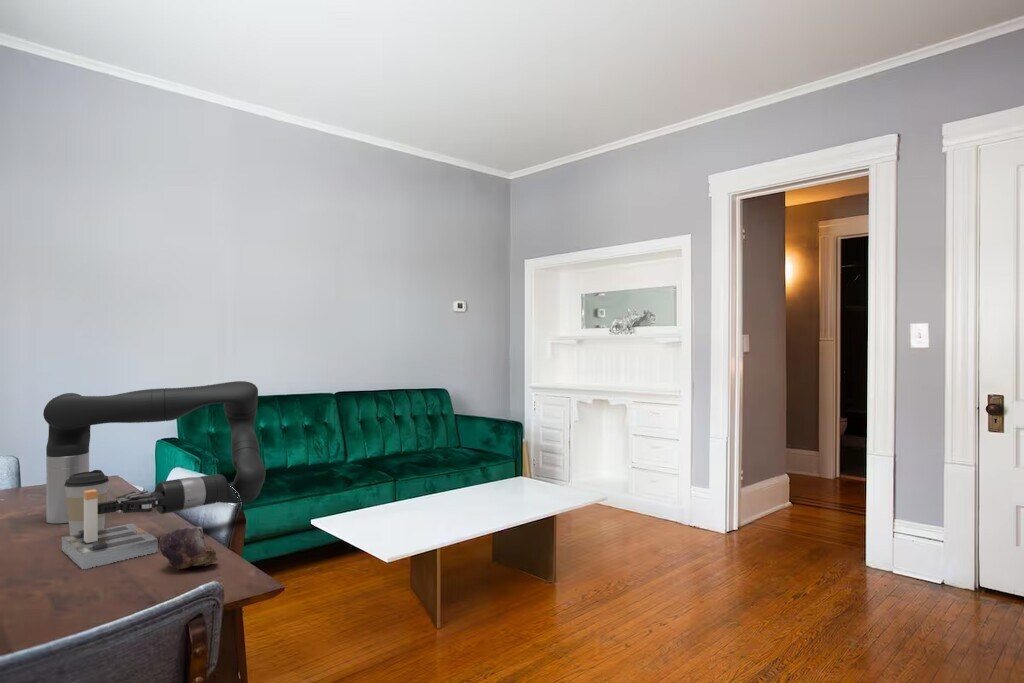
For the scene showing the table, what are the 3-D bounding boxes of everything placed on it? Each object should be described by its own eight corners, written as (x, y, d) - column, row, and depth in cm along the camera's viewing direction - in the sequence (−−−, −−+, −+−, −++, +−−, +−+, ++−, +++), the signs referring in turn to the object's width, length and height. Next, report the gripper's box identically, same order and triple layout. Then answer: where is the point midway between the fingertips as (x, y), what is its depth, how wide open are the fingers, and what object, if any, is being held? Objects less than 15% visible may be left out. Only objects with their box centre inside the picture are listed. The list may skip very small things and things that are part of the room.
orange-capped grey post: (83, 540, 135) (83, 490, 135) (94, 538, 137) (94, 489, 137) (86, 543, 133) (86, 492, 133) (97, 540, 135) (97, 491, 135)
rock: (203, 560, 135) (151, 571, 128) (202, 520, 137) (151, 528, 130) (222, 565, 127) (169, 576, 120) (221, 522, 128) (168, 531, 121)
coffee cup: (86, 540, 145) (86, 477, 145) (54, 538, 147) (54, 475, 147) (118, 529, 154) (117, 469, 154) (87, 527, 156) (87, 468, 156)
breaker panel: (61, 550, 139) (61, 532, 139) (132, 535, 149) (132, 519, 149) (82, 569, 126) (82, 550, 126) (157, 552, 137) (157, 534, 137)
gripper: (191, 515, 144) (104, 532, 131) (170, 505, 153) (88, 520, 140) (191, 483, 144) (104, 497, 131) (170, 475, 153) (87, 487, 140)
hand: (96, 509), depth 136 cm, fingers closed
